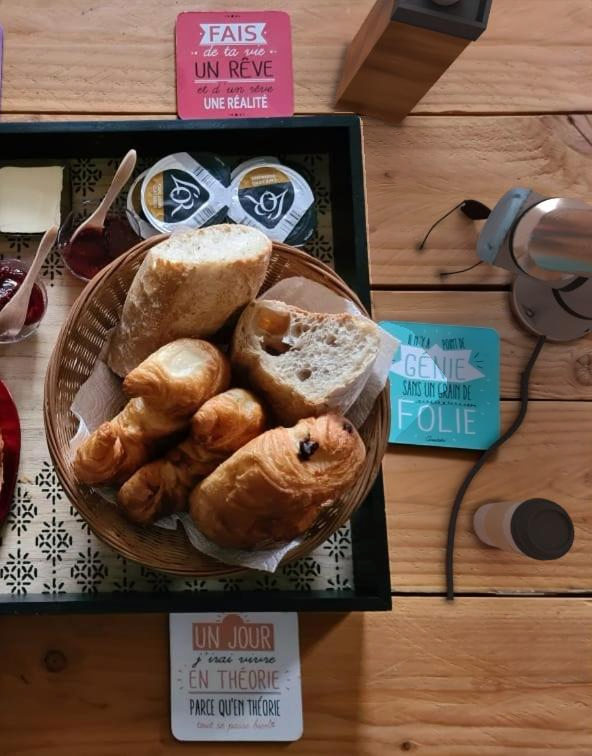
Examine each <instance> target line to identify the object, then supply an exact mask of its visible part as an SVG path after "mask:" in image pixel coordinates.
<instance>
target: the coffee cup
mask: <svg viewBox="0 0 592 756" xmlns="http://www.w3.org/2000/svg"><path fill="white" fill-rule="evenodd" d="M472 524H473V529H474V532H475V534H476V535H477V537H478V538H479V539H480V540H481V542H483V543H484V544H486V545H488V546H491V547H495V548H498V549H499V550H502V551H506V552H510V553H512V554H513V553H514V554H515V555H519V556H523V557H526V558H530V559H532V560H536V561H542V562H543V561H544V562H546V561H555V560H559V559H561V558H562V557H564V556H565V555H567V554H568V553H569V552H570V550H571V548H572V547H573V544H574V541H575V526H574V522H573V520H572V518H571V516H570V515H569V513H568V511H567V510H566V509H564V507H563V506H561V505H560V504H558V503H557V502H555V501H553V500H550V499H547V498H544V497H532V498H529V499H528V498H526V499H515V500H505V501H499V502H492V503H491V502H490V503H485V504H483V505H482V506H480V507H479V508H478V509H477V511H476V512H475V513H474V516H473V522H472Z"/></svg>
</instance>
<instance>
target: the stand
mask: <svg viewBox="0 0 592 756" xmlns="http://www.w3.org/2000/svg"><path fill="white" fill-rule="evenodd" d="M393 4H394V0H375V2H374V4H373V6H372V7H371V8H370V11H369V13H368V14H367V15H366V17H365V19H364V21H363V22H362V24H361V26H360V27H359V29H358V30H357V32H356V34H355V36H354V37H353V39H352V40H351V42H350V44H349V45H348V47H347V50H346V54H345V59H344V63H343V67H342V71H341V75H340V79H339V83H338V88H337V91H336V96H335V99H334V103H333V108H335V109H338V110H343V111H346V112H349V113H350V112H351V113H353V114H358V115H361V116H366V117H369V118H374V119H376V120H380V121H385V122H389V123H391V124H392V123H393V124H396V125H400V124H401V123H402V122H403V121H404V120H405V119H406V118H407V116H408V115H409V114H410V112H412V111H413V109H415V107H416V106H417V105H418V104H419V103H420V101H421V100H422V99H423V98H424V97H425V96H426V95H427V93H428V92H429V91H430V90H431V89H432V88H433V86H434V85H435V84H436V83H437V82H438V81H439V80H440V79H441V77H442V76H443V75H444V74H445V73H446V72H447V70H448V69H449V68H450V67H451V66H452V65H453V64H454V62H455V61H456V60H457V59H458V58H459V57H460V56H461V55H462V53H463V52H464V51H465V50H466V49H467V48H468V47H469V45H471V43H472V42H473V41H470V40H466V39H462V38H458V37H454V36H450V35H446V34H443V33H439V32H435V31H431V30H427V29H423V28H419V27H415V26H411V25H407V24H403V23H399V22H396V21H392V20H390V16H391V12H392V8H393Z"/></svg>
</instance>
